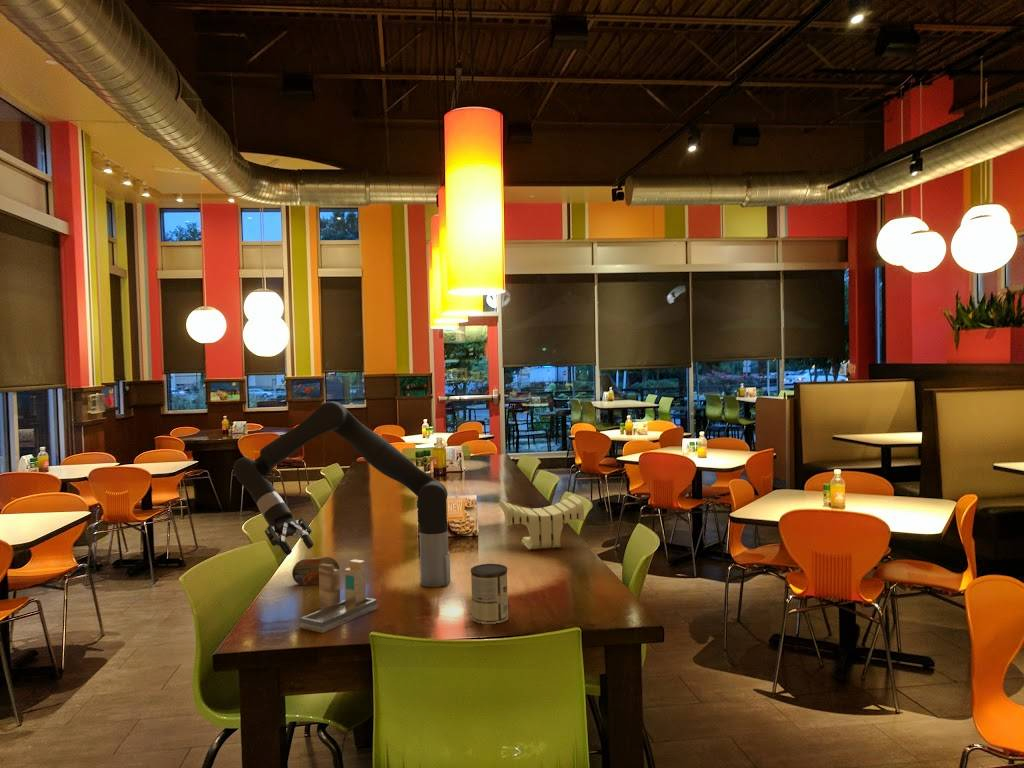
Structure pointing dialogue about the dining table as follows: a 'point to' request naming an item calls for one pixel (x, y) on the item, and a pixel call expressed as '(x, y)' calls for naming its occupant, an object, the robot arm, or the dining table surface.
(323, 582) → the maple finger
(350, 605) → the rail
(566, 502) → the slatted curved stool
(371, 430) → the robot arm
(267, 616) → the dining table surface
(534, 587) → the dining table surface
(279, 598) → the dining table surface
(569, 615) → the dining table surface
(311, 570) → the tin
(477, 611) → the coffee can
